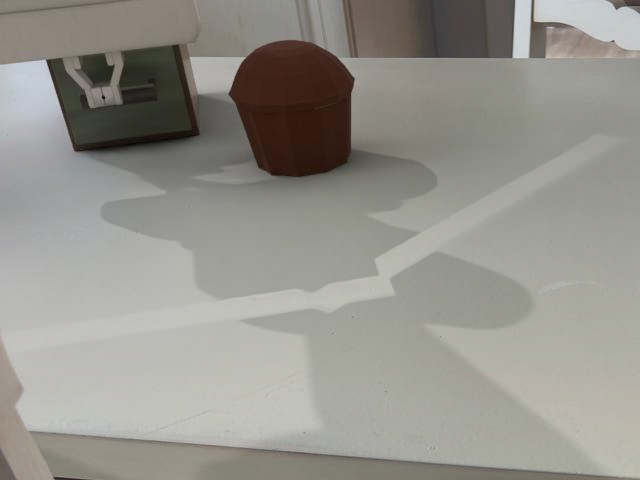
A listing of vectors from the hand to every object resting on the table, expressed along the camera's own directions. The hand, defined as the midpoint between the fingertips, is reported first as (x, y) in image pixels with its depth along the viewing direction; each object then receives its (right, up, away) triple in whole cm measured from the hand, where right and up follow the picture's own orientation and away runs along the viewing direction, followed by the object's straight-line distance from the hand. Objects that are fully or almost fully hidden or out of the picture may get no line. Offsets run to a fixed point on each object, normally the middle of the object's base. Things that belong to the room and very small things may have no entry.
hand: (107, 105), depth 95 cm
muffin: (+18, -5, +2) cm, 19 cm away
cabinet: (-2, +5, +15) cm, 15 cm away
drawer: (-1, +3, +11) cm, 11 cm away
